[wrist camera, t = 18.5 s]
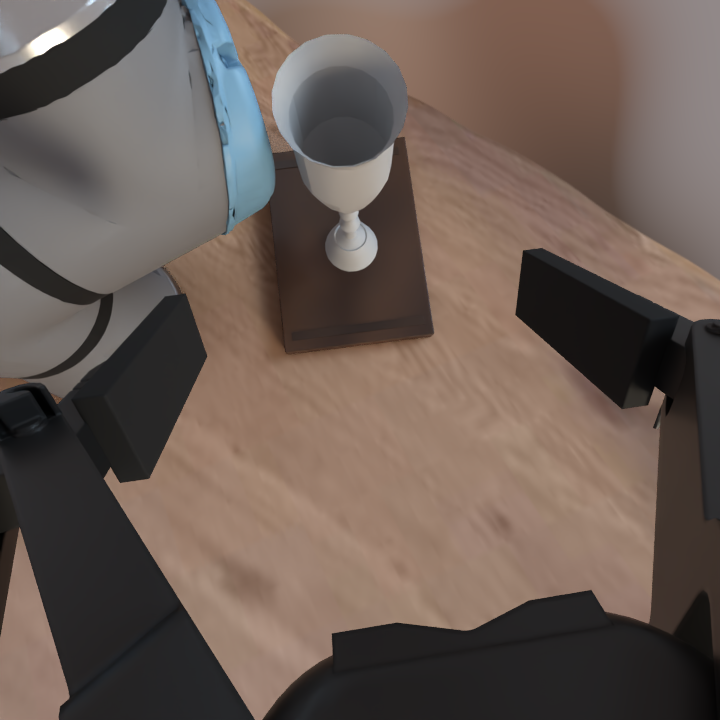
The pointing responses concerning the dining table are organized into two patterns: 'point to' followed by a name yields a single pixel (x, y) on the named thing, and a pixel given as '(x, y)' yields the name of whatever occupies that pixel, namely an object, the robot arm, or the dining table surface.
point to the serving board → (342, 288)
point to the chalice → (342, 131)
